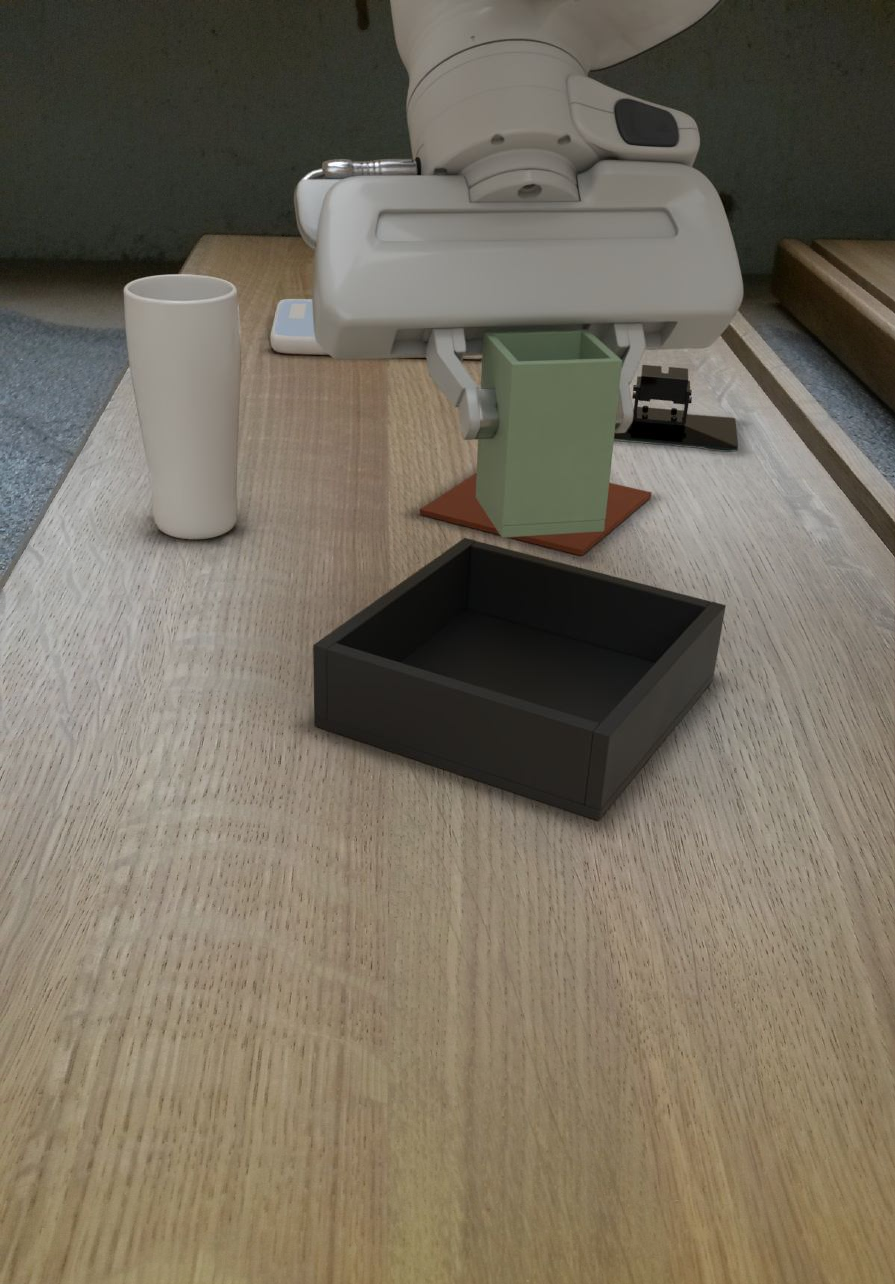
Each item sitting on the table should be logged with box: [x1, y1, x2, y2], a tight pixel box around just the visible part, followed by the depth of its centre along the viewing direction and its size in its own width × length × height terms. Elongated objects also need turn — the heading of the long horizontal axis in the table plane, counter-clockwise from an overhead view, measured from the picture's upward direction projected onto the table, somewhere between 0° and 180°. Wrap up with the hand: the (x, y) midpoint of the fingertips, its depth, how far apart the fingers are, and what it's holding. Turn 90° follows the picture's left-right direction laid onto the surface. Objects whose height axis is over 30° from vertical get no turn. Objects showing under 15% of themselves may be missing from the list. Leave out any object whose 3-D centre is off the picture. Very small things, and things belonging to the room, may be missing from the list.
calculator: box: [269, 298, 482, 360], centre depth 126 cm, size 13×20×2 cm, turn 92°
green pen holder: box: [476, 329, 622, 539], centre depth 63 cm, size 5×5×8 cm
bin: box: [312, 537, 727, 821], centre depth 70 cm, size 16×16×5 cm
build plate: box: [614, 364, 739, 452], centre depth 107 cm, size 12×7×5 cm, turn 82°
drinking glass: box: [122, 273, 242, 540], centre depth 84 cm, size 7×7×15 cm
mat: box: [419, 472, 652, 557], centre depth 93 cm, size 12×12×1 cm
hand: (549, 431), depth 62 cm, fingers closed on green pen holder, 5 cm apart
